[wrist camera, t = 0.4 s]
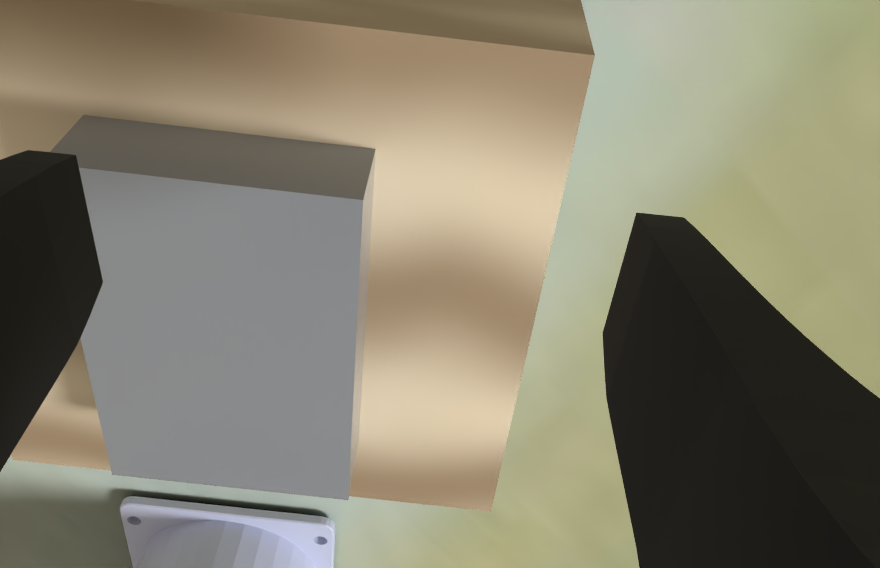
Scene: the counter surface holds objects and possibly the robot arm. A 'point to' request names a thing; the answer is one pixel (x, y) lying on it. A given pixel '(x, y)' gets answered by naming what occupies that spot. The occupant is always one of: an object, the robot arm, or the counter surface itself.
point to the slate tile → (227, 303)
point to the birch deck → (394, 192)
